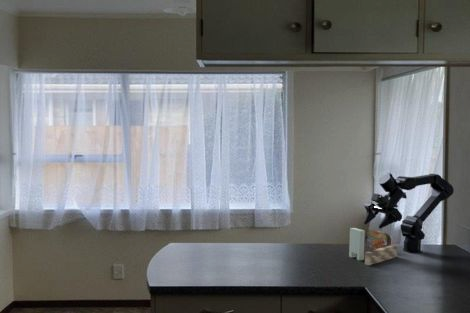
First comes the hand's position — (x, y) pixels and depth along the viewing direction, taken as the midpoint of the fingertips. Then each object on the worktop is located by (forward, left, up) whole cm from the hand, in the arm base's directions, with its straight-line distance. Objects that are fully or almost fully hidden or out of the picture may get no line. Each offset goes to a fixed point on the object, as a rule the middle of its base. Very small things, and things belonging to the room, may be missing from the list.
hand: (371, 225), depth 217 cm
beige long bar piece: (-2, +7, -13) cm, 15 cm away
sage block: (+8, +2, -13) cm, 16 cm away
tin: (-10, -12, -14) cm, 21 cm away
